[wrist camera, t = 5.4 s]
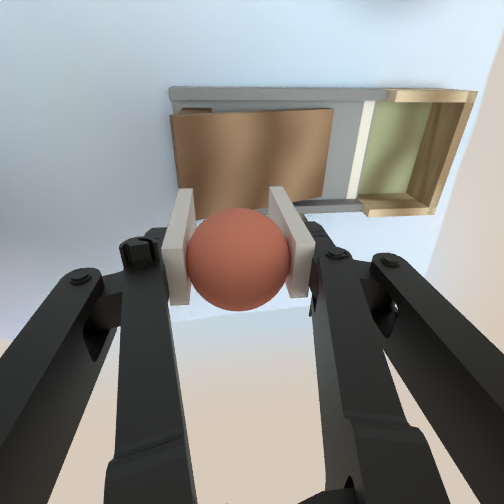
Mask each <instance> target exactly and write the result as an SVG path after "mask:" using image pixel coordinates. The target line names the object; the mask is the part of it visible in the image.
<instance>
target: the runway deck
mask: <svg viewBox="0 0 504 504" xmlns="http://www.w3.org/2000/svg"><path fill="white" fill-rule="evenodd" d="M388 91H389V90H385V89H376V88H308V87H175V86H173V87H171V88H169V96H170V100H173V108H174V115H178V113H179V112H180V111H181V110H182V108H212V113H224V112H245V111H267V110H289V109H310V108H332V109H334V114H333V122H332V129H331V136H330V143H329V150H328V157H327V164H326V171H325V178H324V185H323V192H322V197H318V198H313V199H307V200H302V201H297V202H292V203H293V205H294V207H295V209H296V210H297V212H298V214H308V213H336V212H362V209H363V203H362V202H360V201H359V200H358V199H357V196H358V191H359V186H360V182H361V177H362V172H363V167H364V162H365V157H366V153H367V148H368V143H369V138H370V133H371V128H372V124H373V119H374V114H375V109H376V104H377V101H386V100H387V96H388ZM254 210H255V211H257V212H260V213H262V214H264V215H268V207H265V208H260V209H254Z"/></svg>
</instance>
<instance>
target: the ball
mask: <svg viewBox="0 0 504 504" xmlns="http://www.w3.org/2000/svg"><path fill="white" fill-rule="evenodd" d="M289 265H290V255H289V248H288V244H287V241H286V239H285V237H284V235H283V233H282V232H281V230H280V229H279V227H278V226H277V225H276V224H275V223H274V222H273V221H272V220H271V219H270V218H268V217H267V216H265V215H264V214H262V213H260V212H257V211H255V210H251V209H247V208H229V209H225V210H221V211H219V212H216V213H214V214H212V215H211V216H209V217H208V218H206V219H205V220H204V221H203V222H202V223H201V224H200V225H199V226H198V227H197V228H196V230H195V232H194V233H193V235H192V237H191V239H190V241H189V244H188V248H187V270H188V275H189V278H190V280H191V282H192V284H193V286H194V288H195V289H196V291H197V292H198V293H199V294H200V295H201V296H202V297H203V298H204V299H205V300H206V301H208V302H209V303H211V304H213V305H214V306H216V307H219V308H221V309H225V310H229V311H247V310H251V309H255V308H257V307H260V306H262V305H263V304H265V303H267V302H268V301H270V300H271V299H272V298H273V297H274V296H275V295H276V294H277V293H278V292H279V290H280V289H281V288H282V286H283V284H284V282H285V280H286V278H287V275H288V271H289Z"/></svg>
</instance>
